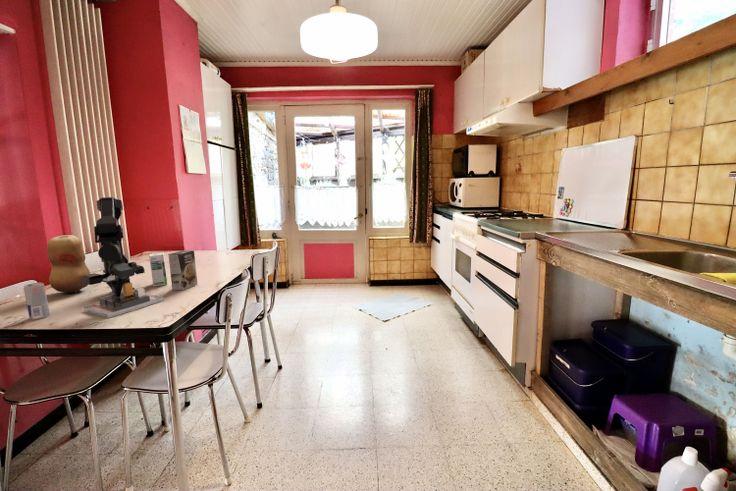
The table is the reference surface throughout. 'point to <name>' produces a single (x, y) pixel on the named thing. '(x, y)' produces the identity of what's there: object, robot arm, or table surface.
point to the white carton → (36, 301)
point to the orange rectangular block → (127, 289)
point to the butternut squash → (67, 263)
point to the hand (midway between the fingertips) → (118, 296)
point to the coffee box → (182, 270)
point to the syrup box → (158, 269)
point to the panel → (111, 314)
